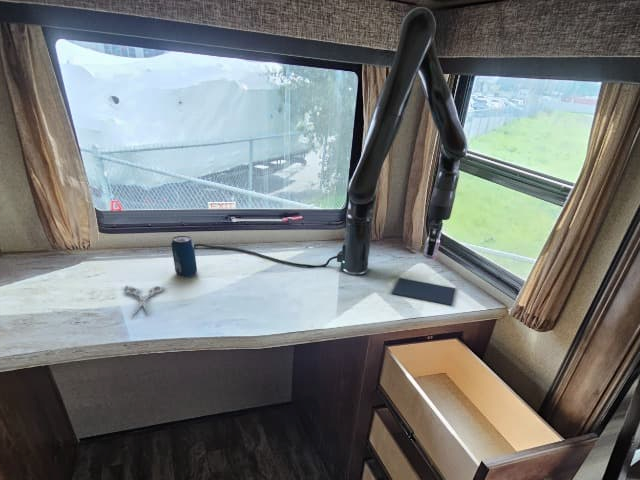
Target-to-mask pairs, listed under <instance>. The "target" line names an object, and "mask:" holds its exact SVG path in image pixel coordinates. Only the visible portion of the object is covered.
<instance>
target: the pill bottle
mask: <svg viewBox="0 0 640 480" xmlns="http://www.w3.org/2000/svg"><path fill="white" fill-rule="evenodd" d="M429 233H430V231H429ZM429 233H428V234H429ZM441 235H442V234H441V233H440V235H439V238H438V239H437V241H436V245H435V248H434V253H433V255H432V256H429V255H427V250H428V245H429V244H428V241H429V235H428V237H427V238H426V240H425V245H424V250H423V254H422V255H423V256H422V257H424V258H425V259H429V260H435V259H436V258H437V256H438V251H439V249H440V244H441V240H440V239H441ZM431 241H435V239H431Z"/></svg>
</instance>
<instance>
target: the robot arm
mask: <svg viewBox="0 0 640 480" xmlns="http://www.w3.org/2000/svg"><path fill="white" fill-rule="evenodd" d="M399 28H400V29H399V38H398V43H397V48H396V51H395V55H394V59H393V62H392V65H391V68H390V70H389V72H388V74H387V76H386V78H385V81H384V82H383V85H382V87H381V89H380V90H379V91H380V92H379V94H378V96H377V99H376V102H375V104H374V107H373V110H372V114H371V115H370V120H369V124H368V126H367V130H366V135H365V139H364V143H363V147H362V152H361V154H360V157H359V161H358V163H357V164H356V165H357V166H356V167H355V170H354V172H353V175H352V176H351V178H350V180H349V182H348V184H347V185H348V186H347V193H348V203H347V204H348V205H347V211H346V216H345V217H346V219H345V229H344V230H345V231H344V243H343V244H342V246H341V247H342V248H341V250H340V251H339V252H338V253H337V255H334V256H332V257H330V258H328V259H327V261H326V262H325V263H324V264H320V265H319V264H318V265H313V264H307V263H298V262H292V261H286V260H282V259H278V258H275V257H271V256H268V255H265V254H262V253H258V252H256V251H251V250H248V249H244V248H238V247H232V246H221V245H210V244H205V243H195V244H194V248H196V247H206V248H209V249H221V250H231V251H239V252H243V253H248V254H252V255H255V256H258V257H261V258H265V259H268V260H271V261H275V262H278V263H282V264H286V265H290V266H291V265H292V266H297V267H306V268H324V267H326V266H328V265H329V263H330V262H331V261H332V260H334V259H336V262H337V263H340V271H341V272H343V273H345V274H348V275H353V276H361V275H362V276H363V275H365V274H367V273H368V268H369V267H368V266H369V262H370V261H369V257H370V251H371V250H370V249H371V248H370V247H371V240H372V231H373V224H374V217H375V211H376V204H377V203H376V202H377V194H378V183H379V179H380V175H381V172H382V169H383V165H384V163H385V161H386V158H387V157H388V155H389V153H390V151H391V149H392V147H393V145H394V143H395V140H396V139H397V136H398V134H399V131H400V129H401V126H402V124H403V121H404V117H405V115H406V112H407V108H408V106H409V103H410V99H411V96H412V93H413V88H414V85H415V82H416V79H417V75H418V77H419V80H420V83H421V86H422V89H423V93H424V96H425V101H426V104H427V107H428V110H429V113H430V116H431V118H432V122H433V125H434V127H435V129H436V131H437V132H438V135H439V139H440V141H441V147H440V152H439V160H438V168H437V169H438V170H437V174H436V177H435V182H434V187H433V190H432V193H431V198H430V203H429V207H428V210H427V211H428V212H427V216H428V217H429V218H430V219H433V220H432V221H431V223H430V226H429V232H430V233H428V236H429V241H428V244H429V245H428V250H427V255H429V256H432V255H433V253H434V248H435V245H436V241H437V239H438V238H439V235H440V234H441V233H442V229H443V228H444V227H443V226H444V222H443V221H448V220H450V218H451V216H452V211H453V207H454V203H455V199H456V193H457V188H458V183H459V179H460V163H461V160H463V159H464V158H465V157H466V155H467V153H468V151H469V150H468V149H469V141H468V139H467V136H466V133H465V131H464V129H463V126H462V124H461V121H460V119H459V115H458V111H457V107H456V104H455V101H454V97H453V94H452V92H451V89H450V86H449V84H448V81H447V79H446V77H445V75H444V72H443V69H442V67H441V64H440V60H439V57H438V55H437V54H438V53H437V49H436V44H435V36H436V31H437V23H436V18H435V16H434V14H433V12H432V11H431V10H430V9H429V8H427V7H424V6H417V7H415V8H413V9H411V10H410V11H409V12H408V13H407V14H406V15H405V16H404V18H403V20H402V22H401V25H400V27H399ZM431 239H435V241H431Z"/></svg>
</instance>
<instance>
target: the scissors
mask: <svg viewBox="0 0 640 480" xmlns="http://www.w3.org/2000/svg"><path fill="white" fill-rule="evenodd" d="M125 289H126V293H127V294H128V295H132V296H133V295H134V296H135V297H137V298H139V303H138V304H137V306H136V308H135V310H134V311H133V314H132V316H134V315H135V314H136V313H137V312H138V310H139V309H140V308H141V307H142V306H143V308H144V310H145V312H146V313H147V314H149V310H148V305H147V301H148V299H150V297H153V296H154V295H156V294H159V293H162V292H163V288H162V286H161V285H160V286H159V285H156V286H153V287H151V288H150V293H148V294H146V295H144V296H142V295H140V294H138V293H140V290H139V289H138V288H136V287H130V286H128V285H125Z"/></svg>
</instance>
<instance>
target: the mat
mask: <svg viewBox="0 0 640 480" xmlns="http://www.w3.org/2000/svg"><path fill="white" fill-rule="evenodd" d="M455 292H456V288H455V287H451V286H446V285H440V284H434V283H429V282H424V281H417V280H413V279H408V278H403V277H399V278H398V280H397V282H396V284H395V286H394V289H393V290H392V292H391V294H392V295H395V296H401V297H405V298H411V299H415V300H420V301H426V302H430V303H436V304H441V305H446V306H450V307H451V306H452V305H453V301H454V296H455Z"/></svg>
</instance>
